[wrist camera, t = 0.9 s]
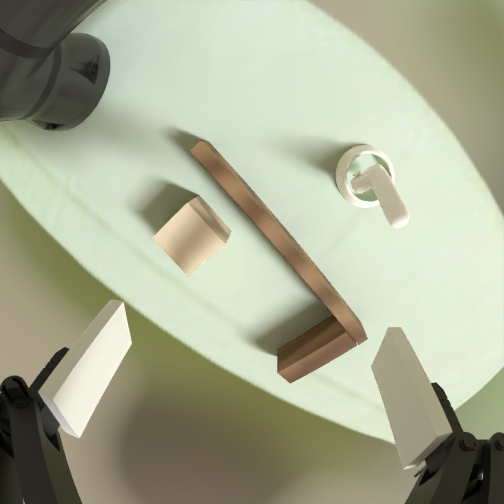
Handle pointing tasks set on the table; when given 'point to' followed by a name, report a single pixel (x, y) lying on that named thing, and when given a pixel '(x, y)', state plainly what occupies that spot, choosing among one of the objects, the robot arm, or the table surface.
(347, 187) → the hook
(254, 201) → the guide rail
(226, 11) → the table surface
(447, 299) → the table surface
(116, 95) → the table surface
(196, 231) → the beige wooden block
